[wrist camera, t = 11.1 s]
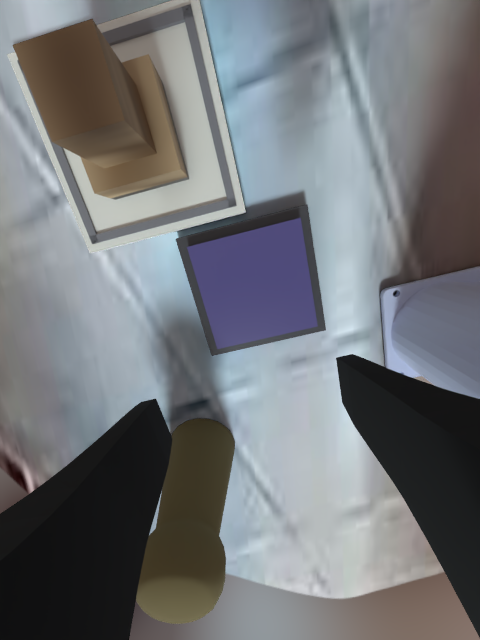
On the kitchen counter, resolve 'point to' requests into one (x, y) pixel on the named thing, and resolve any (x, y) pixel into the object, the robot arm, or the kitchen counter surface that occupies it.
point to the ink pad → (255, 280)
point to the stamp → (104, 110)
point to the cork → (189, 526)
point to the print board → (190, 123)
